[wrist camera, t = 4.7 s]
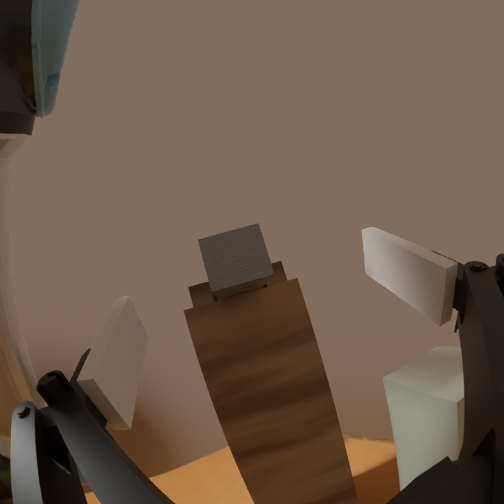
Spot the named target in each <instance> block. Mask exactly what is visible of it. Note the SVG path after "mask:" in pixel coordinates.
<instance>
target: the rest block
mask: <svg viewBox="0 0 504 504" xmlns="http://www.w3.org/2000/svg"><path fill="white" fill-rule="evenodd" d="M383 382H384V387H385V392H386V397H387V402H388V407H389V412H390V417H391V423H392V429H393V435H394V442H395V449H396V456H397V464H398V473H399V483H400V491H402V490H403V489H404V488H405V487H406V486H407V485H408V484H409V483H410V482H411V481H413V480H414V479H415V478H416V477H417V476H419V475H420V474H422V473H423V472H425V471H426V470H428V469H429V468H431V467H432V466H434V465H435V464H437V463H438V462H439V461H441V460H442V459H444V458H445V457H446V456H448V457H449V458H450V460H451V461H454V460H457V459H458V456H459V454H460V451H461V448H462V444H463V435H464V379H463V364H462V353H461V348H459V347H458V348H457V347H444V346H438V347H437V348H435V349H433V350H432V351H430V352H428V353H427V354H425V355H423V356H422V357H420V358H418V359H417V360H415V361H413V362H411V363H410V364H408V365H406V366H404V367H402V368H401V369H399V370H397V371H395V372H393V373H391V374H389V375H387V376H385V377H383Z"/></svg>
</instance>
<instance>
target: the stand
mask: <svg viewBox="0 0 504 504" xmlns="http://www.w3.org/2000/svg"><path fill="white" fill-rule="evenodd" d="M271 265H272V268H273V271H274V275H273V276H272V277H271V278H270V280H269V281H268V282H267V283H266V284H265V285H264V286H263V287H262V288H261V289H259V290H255V291H252V292H248V293H245V294H241V295H238V296H234V297H231V298H227V299H224V300H220V301H219V298H218V297H217V296H216V295H215V294H213V293H212V290H211V287H210V283H209V282H205V283H201V284H198V285H194V286H191V287H188V288H189V291H190V296H191V299H192V303H193V307H194V308H191V309H187V310H184V313H185V317H186V320H187V324H188V328H189V331H190V334H191V338H192V341H193V345H194V348H195V351H196V354H197V357H198V361H199V364H200V367H201V370H202V373H203V376H204V379H205V382H206V385H207V388H208V391H209V394H210V397H211V400H212V402H213V405H214V408H215V411H216V413H217V416H218V419H219V422H220V424H221V427H222V429H223V432H224V435H225V437H226V440H227V442H228V445H229V447H230V450H231V452H232V454H233V457H234V459H235V462H236V464H237V466H238V469H239V471H240V473H241V476H242V478H243V480H244V482H245V484H246V487H247V489H248V491H249V493H250V495H251V497H252V500H253V502H254V504H358V500H357V496H356V491H355V487H354V482H353V478H352V473H351V469H350V465H349V461H348V456H347V452H346V448H345V444H344V440H343V436H342V432H341V428H340V424H339V421H338V417H337V413H336V409H335V405H334V402H333V398H332V394H331V390H330V387H329V383H328V379H327V376H326V372H325V369H324V365H323V362H322V358H321V355H320V351H319V348H318V345H317V341H316V338H315V334H314V331H313V328H312V325H311V321H310V317H309V315H308V311H307V308H306V304H305V301H304V298H303V295H302V291H301V288H300V285H299V282H298V279H297V278H295V279H292V280H289V281H287V278H286V275H285V272H284V269H283V265H282V262H281V261H279V262H276V263H272V264H271Z"/></svg>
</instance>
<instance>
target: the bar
mask: <svg viewBox="0 0 504 504" xmlns="http://www.w3.org/2000/svg"><path fill="white" fill-rule="evenodd" d="M198 242H199V246H200V249H201V253H202V257H203V261H204V265H205V268H206V272H207V276H208V280H209V283H210V287H211V290H212V293H213V294H215V295H216V296H217V297H218V298H219V299H220V300H224V299H227V298H231V297H234V296H238V295H241V294H245V293H248V292H252V291H255V290H259V289H261V288H262V287H263V286H264V285H265V284H266V283H267V282H268V281H269V280H270V278H271V277H272V276H273V275H274V271H273V268H272V265H271V262H270V259H269V255H268V253H267V249H266V246H265V243H264V240H263V236H262V233H261V230H260V227H259V224H254V225H250V226H246V227H243V228H240V229H236V230H232V231H228V232H224V233H221V234H217V235H213V236H210V237H206V238H203V239H199V240H198Z"/></svg>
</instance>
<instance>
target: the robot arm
mask: <svg viewBox="0 0 504 504" xmlns="http://www.w3.org/2000/svg"><path fill="white" fill-rule="evenodd" d="M78 4H79V0H0V504H87V501H86V497H85V494H84V491H83V488H82V486H84V485H87V484H89V486H90V488H91V489H92V491H93V492H94V494H95V495H96V497H97V498H98V500H99V501H100V503H101V504H175V503H174V502H173V501H171V500H170V499H169V498H168V497H167V496H166V495H165V494H164V493H163V492H162V491H161V490H160V489H159V488H158V487H157V486H156V485H155V484H154V483H153V482H152V481H151V480H150V479H149V478H148V477H147V476H146V475H145V474H144V473H143V472H142V471H141V470H140V469H139V468H138V467H137V466H136V465H135V464H134V462H133V461H132V460H131V459H130V458H129V457H128V455H127V454H126V453H125V452H124V451H123V450H122V449H121V447H120V446H119V445H118V444H117V442H116V441H115V440H114V439H113V437H112V436H111V435H110V433H109V432H108V431H107V430H106V429H105V428H106V423H107V422H108V423H109V424H110V425H111V426H112V428H113V429H114V430H123V429H131V425H132V419H133V413H134V407H135V401H136V395H137V390H138V384H139V379H140V374H141V369H142V364H143V360H144V354H145V350H146V346H147V341H148V336H147V334H146V331H145V329H144V327H143V325H142V323H141V321H140V318H139V316H138V314H137V312H136V310H135V307H134V305H133V302H132V300H131V298H130V295H127V296H124V297H120V298H117V299H116V301H115V303H114V305H113V307H112V309H111V310H110V312H109V314H108V316H107V318H106V320H105V322H104V324H103V326H102V328H101V330H100V332H99V334H98V336H97V338H96V340H95V342H94V344H93V346H92V348H91V349H88V350H87V351H86V352H85V353H84V354H83V356H82V357H81V359H80V361H79V363H78V364H79V365H77V367H76V371H75V372H74V374H73V376H72V378H71V380H70V382H68V380H67V379H66V377H65V376H64V374H63V373H62V372H61V371H58V370H55V371H51V372H49V373H47V374H45V375H44V376H43V377H42V378H41V379H40V380H39V381H37V379H36V376H35V373H34V370H33V367H32V364H31V360H30V357H29V354H28V350H27V347H26V343H25V339H24V335H23V332H22V328H21V323H20V318H19V313H18V308H17V303H16V298H15V291H14V285H13V278H12V270H11V260H10V250H9V231H8V192H9V174H10V166H11V163H12V160H13V158H14V157H15V156H16V155H17V154H18V153H19V151H21V149H22V148H23V147H24V146H25V145H26V144H27V143H28V142H29V141H30V140H31V136H32V130H33V125H34V120H35V117H41V118H42V117H44V116H46V115H49V114H51V113H52V111H53V109H54V106H55V102H56V96H57V91H58V85H59V80H60V71H61V68H62V65H63V62H64V57H65V53H66V49H67V45H68V41H69V37H70V33H71V29H72V26H73V22H74V18H75V15H76V11H77V7H78ZM362 237H363V246H364V259H365V273H366V274H367V275H368V276H370V277H371V278H373V279H374V280H376V281H377V282H379V283H380V284H381V285H383V286H384V287H386V288H387V289H389V290H390V291H391V292H393V293H394V294H396V295H397V296H399V297H400V298H401V299H403V300H404V301H406V302H407V303H408V304H410V305H411V306H413V307H414V308H415V309H417V310H418V311H419V312H421V313H422V314H424V315H425V316H426V317H428V318H429V319H430V320H432V321H433V322H434V323H436V324H437V325H438V326H441V325H443V324H445V323H446V322H448V321H450V320H451V316H452V310H453V308H454V309H456V310H457V311H458V315H457V320H456V326H455V331H454V332H457V329H459V336H460V344H461V353H462V364H463V379H464V435H463V444H462V448H461V451H460V454H459V456H458V459H457V460H454V461H451V460H450V458H449V457H448V456H446V457H445V458H444V459H442V460H441V461H439V462H438V463H437V464H435V465H434V466H432V467H431V468H429V469H428V470H426V471H425V472H423V473H422V474H420V475H419V476H417V477H416V478H415V479H414V480H413V481H411V482H410V483H409V484H408V485H407V486H406V487H405V488H404V489H403V490H402V491H400V492H399V493H398V494H397V495H396V496H395V497H394V498H392V499H391V500H390V501H389V502H387V503H386V504H504V254H500V255H498V256H497V259H496V266H492V267H489V266H488V265H486V264H484V263H482V262H478V261H472V262H468V263H466V264H465V265H463V264H461V263H459V262H457V261H455V260H452V259H450V258H447V257H445V256H443V255H441V254H439V253H437V252H435V251H431V250H428V249H426V248H423V247H421V246H419V245H416V244H414V243H411V242H409V241H407V240H404V239H402V238H400V237H397V236H395V235H392V234H390V233H387V232H385V231H382V230H380V229H377V228H375V227H370V228H366V229H363V230H362Z"/></svg>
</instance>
